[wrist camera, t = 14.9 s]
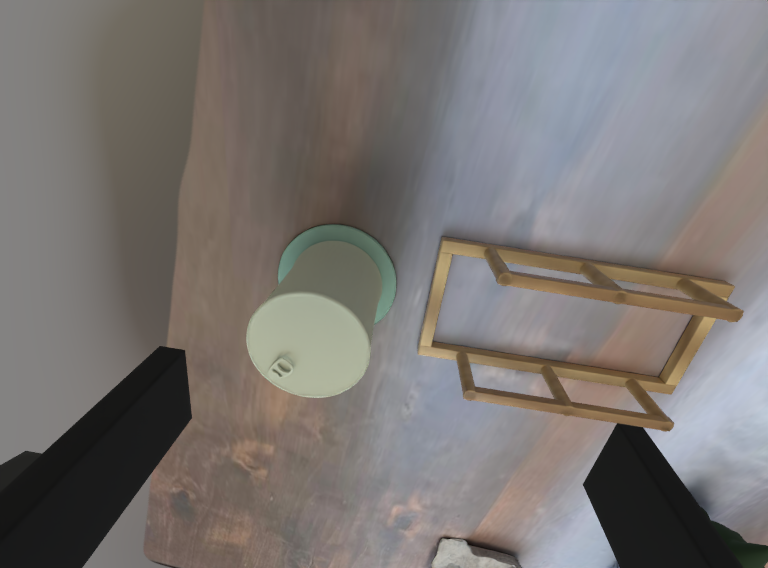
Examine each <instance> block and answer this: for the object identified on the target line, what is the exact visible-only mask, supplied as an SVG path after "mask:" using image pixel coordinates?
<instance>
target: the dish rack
mask: <svg viewBox="0 0 768 568" xmlns="http://www.w3.org/2000/svg"><path fill="white" fill-rule="evenodd" d="M453 254H456V255H463V256H469V257H475V258H482V259H486V261H487V262H488V264H489V266H490V268H491V270H492V272H493V274H494V276H495V277H496V281H497V283H498V284H500V285H502V286H514V287H520V288H526V289H532V290H539V291H545V292H551V293H558V294H564V295H570V296H577V297H583V298H589V299H596V300H602V301H608V302H613V303H615V304H627V305H633V306H640V307H646V308H652V309H659V310H665V311H671V312H678V313H684V314H690V315H693V317H692V319H691V321H690V322H689V324H688V326H687V328H686V330H685V331H684V333H683V335H682V337H681V339H680V340H679V342H678V344H677V346H676V348H675V349H674V351H673V353H672V355H671V356H670V358H669V360H668V362H667V364H666V365H665V367H664V369H663V371H662V373H661V374H660V376H659V377H653V376H647V375H641V374H634V373H628V372H622V371H615V370H609V369H603V368H596V367H590V366H584V365H578V364H571V363H565V362H559V361H552V360H546V359H540V358H533V357H527V356H521V355H515V354H508V353H502V352H496V351H489V350H483V349H477V348H470V347H464V346H458V345H451V344H445V343H439V342H433V336H434V332H435V328H436V323H437V319H438V315H439V311H440V306H441V302H442V298H443V294H444V289H445V285H446V281H447V276H448V272H449V268H450V264H451V259H452V255H453ZM504 262H507V263H513V264H520V265H526V266H532V267H539V268H545V269H551V270H558V271H564V272H570V273H576V274H582V275H583V276H585V277H586V278H587V279H588V280H589V281H590V282H591V283H592V284H589V283H583V282H577V281H571V280H564V279H558V278H552V277H545V276H539V275H533V274H526V273H520V272H514V271H509V269H508V268H507V266H506V264H505V263H504ZM611 279H614V280H621V281H627V282H633V283H640V284H646V285H652V286H659V287H665V288H671V289H678V290H680V291H681V292H683V293H684V294H686V295H687V296H689V297H691V298H692V299H694V300H691V299H684V298H678V297H672V296H665V295H659V294H653V293H646V292H640V291H634V290H627V289H622V288H621V287H620V286H618V285H617V284H616V283H615V282H613V281H612V280H611ZM734 288H735V286H734V285H732V284H730V283H728V282H726V281H720V280H714V279H707V278H701V277H695V276H688V275H682V274H676V273H669V272H663V271H657V270H650V269H644V268H638V267H631V266H625V265H619V264H613V263H606V262H600V261H594V260H587V259H581V258H575V257H568V256H562V255H556V254H549V253H543V252H537V251H530V250H524V249H518V248H511V247H505V246H499V245H492V244H486V243H480V242H473V241H467V240H461V239H455V238H448V237H442V238H441V242H440V247H439V251H438V256H437V261H436V265H435V270H434V275H433V279H432V284H431V289H430V293H429V298H428V302H427V307H426V312H425V316H424V321H423V326H422V330H421V335H420V340H419V344H418V354H419V355H425V356H431V357H437V358H444V359H450V360H456V361H457V365H458V370H459V375H460V380H461V386H462V391H463V397H464V399H466V400H469V401H471V400H475V401H481V402H488V403H494V404H500V405H506V406H513V407H519V408H525V409H532V410H538V411H544V412H551V413H557V414H563V415H565V416H576V417H582V418H588V419H595V420H601V421H607V422H614V423H620V424H626V425H632V426H639V427H645V428H651V429H658V430H661V431H670V430H671V429H672V428H673V427H674V422H673V421H672V420H671V419H670V418H669V417H667V416H666V414H665V413H664V412H663V411H662V410H661V409H660V408H659V406H658V405H657V404H656V403H655V402H654V401H653V399H652V398H651V397H650V396H649V395H648V394H647V392H646V391H652V392H658V393H664V394H672V393H673V391H674V389H675V388H676V386H677V384H678V383H679V381H680V379H681V378H682V376H683V374H684V373H685V371H686V369H687V367H688V366H689V364H690V362H691V361H692V359H693V357H694V356H695V354H696V352H697V351H698V349H699V347H700V345H701V344H702V342H703V340H704V339H705V337H706V335H707V334H708V332H709V330H710V329H711V327H712V325H713V323H714V322H715V320H716V319H722V320H727V321H728V322H738V320H740V319H741V318H742V316H743V312H744V311H743V310H741V309H739V308H738V307H735V306H734V305H732V304H730V303H729V302H727V300H728V297H729V296H730V294H731V293H732V291H733V289H734ZM469 363H475V364H481V365H488V366H494V367H500V368H507V369H513V370H519V371H526V372H532V373H538V374H542V376H543V377H544V379H545V381H546V383H547V385H548V387H549V389H550V391H551V393H552V395H553V397H554V399H550V398H544V397H537V396H531V395H525V394H519V393H512V392H506V391H500V390H493V389H487V388H481V387H475V385H474V380H473V376H472V372H471V368H470V364H469ZM557 377H563V378H570V379H576V380H582V381H589V382H595V383H601V384H608V385H614V386H620V387H626V388H627V389H628V390H629V391H630V393H631V394H632V395H633V396H634V398H635V399H636V400H637V401H638V403H639V404H640V405H641V406H642V408H643V409H644V410H645V411H646V413H647V414H645V413H638V412H632V411H626V410H619V409H613V408H607V407H600V406H594V405H588V404H582V403H575V402H571V401H570V399H569V397H568V395H567V394H566V392H565V390H564V388H563V387H562V385H561V383H560V381H559V380H558V378H557Z"/></svg>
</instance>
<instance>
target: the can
mask: <svg viewBox="0 0 768 568" xmlns="http://www.w3.org/2000/svg"><path fill="white" fill-rule="evenodd" d="M381 294H382V278H381V275H380V272H379V269H378V267H377V265H376V264H375V262H374V261H373V260H372V258H371V257H370V256H369V255H368V254H367V253H366V252H364V251H363V250H362V249H360V248H358V247H357V246H355V245H352V244H350V243H347V242H342V241H324V242H320V243H317V244H314V245H312V246H310V247H309V248H307V249H306V250H305V251H303V252H302V253H301V254H300V256H299V257H298V258H297V260H296V261H295V263H294V266H293V267H292V269H291V270H290V271H289V273H288V274H287V275H286V276H285V278H284V279H283V280H282V281H281V283H280V284H279V285H278V286H277V288H276V289H275V290H274V291H273V292H272V294H271V295H270V296H269V297H268V298H267V300H266V301H265V302H264V303H263V304H262V305H261V306H260V307H259V308H258V309H257V310H256V311H255V312H254V314H253V316H252V317H251V319H250V322H249V325H248V328H247V337H246V340H247V348H248V352H249V355H250V357H251V359H252V361H253V363H254V365H255V366H256V368H257V369H258V370H259V372H260V373H261V374H262V375H263V376H264V377H265V378H266V379H267V380H268V381H269V382H271V383H272V384H274V385H275V386H277V387H278V388H280V389H282V390H284V391H286V392H289V393H292V394H295V395H298V396H302V397H311V398H322V397H329V396H333V395H337V394H340V393H342V392H344V391H346V390H348V389H349V388H351V387H352V386H353V385H355V384H356V383H357V382H358V381H359V380H360V379H361V377H362V376H363V375H364V373H365V371H366V369H367V367H368V364H369V361H370V355H371V341H372V335H373V329H374V323H375V317H376V311H377V306H378V303H379V301H380V298H381Z"/></svg>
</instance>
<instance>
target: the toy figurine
mask: <svg viewBox="0 0 768 568" xmlns="http://www.w3.org/2000/svg"><path fill="white" fill-rule="evenodd" d="M700 508H701V507H700ZM701 509H702V510H703V512H704V513H705V515H706V516H707V517H708V519H709V520H710V518H709V516H708V514H707V513H706V511H705V510H704V509H703V508H701ZM710 522H711V523H712V524H713V526H714V527H715V528H716V530H717V531H718V533H719V534H720V535H721V537H722V538H723V540H724V541H725V542H726V544H727V545H728V547H729V548H730V549H731V551H732V552H733V554H734V555H735V556H736V558H737V559H738V561H739V562H740V563H741V565H742V566H743V567H744V568H765V567H764V566H765V565H766V563H767V562H768V546H766V545H759V544H752V543H747V542H746V541H745V540H743V538H742V537H741V535H740V534H738V533H737V532H735V531H732V530H730V529H729V528H727V527H725V526H723V525H721V524H719V523H717V522H715V521H712V520H710Z"/></svg>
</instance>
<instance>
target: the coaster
mask: <svg viewBox="0 0 768 568" xmlns="http://www.w3.org/2000/svg"><path fill="white" fill-rule="evenodd" d="M324 241H342V242H347V243H350V244H352V245H355V246H357V247H358V248H360V249H362V250H363V251H364V252H366V253H367V254H368V255H369V256H370V257H371V258H372V260H373V261H374V262H375V264H376V265H377V267H378V269H379V272H380V275H381V278H382V294H381V298H380V301H379V303H378V306H377V311H376V317H375V323H374V325H375V324H376V323H378V322H379V321H380V320H381V319H382V318H383V317H384V316H385V315H386V314H387V312H388V311H389V309H390V307H391V305H392V303H393V301H394V297H395V293H396V274H395V269H394V266H393V263H392V261H391V259H390V257H389V255H388V254H387V252H386V251H385V249H384V248H383V247H382V246H381V245H380V243H378V242H377V241H376V240H375V239H374V238H373V237H371V236H370V235H368V234H367V233H365V232H363V231H361V230H359V229H356V228H353V227H350V226H346V225H338V224H327V225H321V226H317V227H314V228H311V229H309V230H306V231H304V232H303V233H301V234H300V235H298V236H297V237H296V238H295V239H294V240H293V241H292V242H291V243H290V244H289V245H288V247H287V248H286V250H285V251H284V253H283V255H282V257H281V260H280V264H279V269H278V283H279V284H280V283H281V281H282V280H283V279H284V278H285V276H286V275H287V274H288V273H289V271H290V270H291V269H292V267H293V266H294V263H295V261H296V260H297V258H298V257H299V256H300V254H301V253H302V252H303V251H305V250H306V249H307V248H309V247H310V246H312V245H314V244H317V243H320V242H324Z"/></svg>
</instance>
